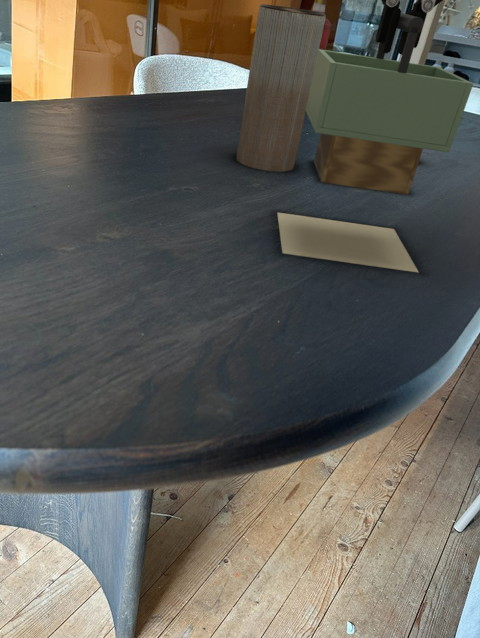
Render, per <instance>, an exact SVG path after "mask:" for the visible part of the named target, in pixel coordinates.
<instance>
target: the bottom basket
mask: <svg viewBox="0 0 480 638" xmlns="http://www.w3.org/2000/svg"><path fill="white" fill-rule="evenodd" d="M318 138H319V139H318V143H317V148H316V151H315V156H314V161H313V164H314V166H315V169H316V172H317V174H318V177H319V180H320V182H321V183H324V184H330V185H331V184H332V185H338V186H344V187H346V186H347V187H352V188H359V189H365V190H374V191H382V192H387V193H394V194H400V195H409V193H410V190H411V187H412V185H413V182H414V181H413V180H414V178H415V174H416V172H417V169H418V165H419V163H420V160H421V156H422V153H423V151H424V149H422V148H415V147H408V146H402V145H395V144H388V143H381V142H375V141H368V140H361V139H354V138H347V137H341V136H334V135H327V134H320V133H319V137H318Z"/></svg>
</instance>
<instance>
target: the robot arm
mask: <svg viewBox="0 0 480 638" xmlns="http://www.w3.org/2000/svg"><path fill="white" fill-rule="evenodd" d="M443 1H444V0H415V2H414V3H413V5H412V8H411V9H409V10H408V11H407V13H406V14H408V15H412V16H416V17H420V18H421V19H422V20H423V23H424V25H423V27H424V26H425V22H426V18H427V16H428V13H430V12H431V11H432V10H434V8H435V7H436V6H437V5H439V4H440V3H441V2H443ZM381 4H382V5H383V7H382V11H381V15H380V19H379V23H378V27H377V31H376V33H375V40H374V41H375V43H378V47H377V52H378V51H380V52H382V53H385V54H389V53H390V52H391V51H392V47H393V44H394V41H395V36H396V33H397V30H398V29H397V26H398V21H399V18H400V15H401V13H402V9H401V8H400V4H401V0H381ZM422 32H423V29H422V30H421V31H420V32H419V33H418V35H417V38H416V42H415V45H414V49H416V48H418V45H419V43H420V39H421V35H422ZM407 35H408V32H405V31H403V30H401V35H400V38H399V42H398V46H397V50H396V52H397V53H398V54H399V55H401V56H402V53H403V50H404V46H405V43H406V39H407Z"/></svg>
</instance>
